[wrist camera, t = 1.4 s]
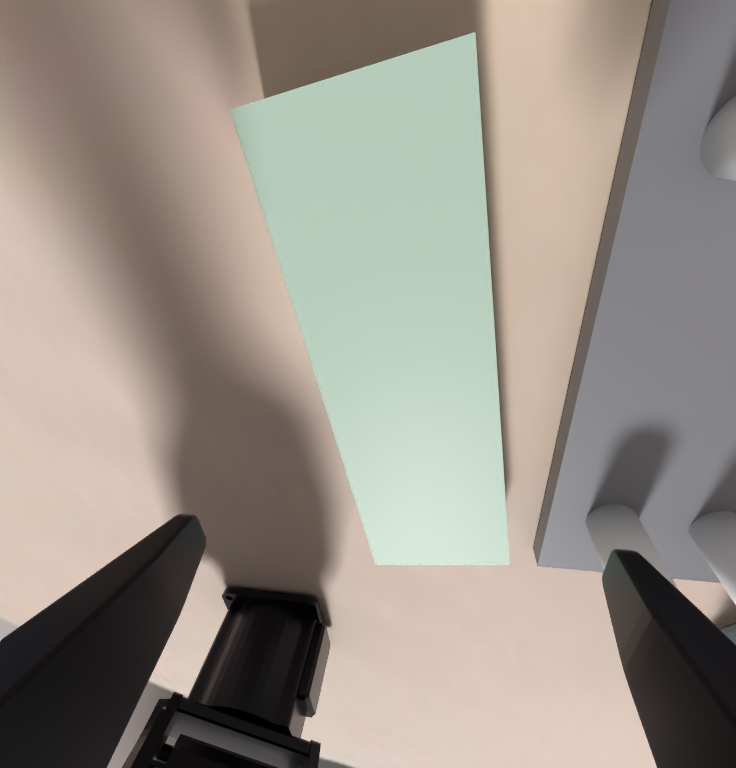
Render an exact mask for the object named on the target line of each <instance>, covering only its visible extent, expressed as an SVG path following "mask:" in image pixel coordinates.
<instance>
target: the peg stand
mask: <svg viewBox="0 0 736 768" xmlns="http://www.w3.org/2000/svg"><path fill="white" fill-rule="evenodd" d="M533 549H534V553H535V558H536V562H537V566H541V567H552V568H563V569H574V570H585V571H596V572H604V569H605V566H606V564H607V561H608V558H609V556H610V553H611V551H612V550H614V549H624V550H633V551H636V552H638V553H640V554H641V555H642V556H643V557H644V558H645V559H646V560H647V561H648V562H649V563H650V564H651V565H653V566H654V567H655V568H656V569H657V570H658V571H659V572H660V573H661V574H662V575H663V576H664V577H665V578H666V579H667V580H668V581H669V582H670V583H671V584H673V585H674V586H675V587H676V585H675V583H674V581H673V579H684V580H695V581H706V582H717V583H721V584H722V585H723V587H724V588H725V590H726V591H727V593H728V594H729V596H730V597H731V599H732V600H733V602H734V603H735V605H736V0H653V2H652V6H651V11H650V15H649V20H648V25H647V29H646V34H645V38H644V43H643V48H642V52H641V57H640V61H639V66H638V71H637V75H636V80H635V84H634V89H633V93H632V98H631V103H630V107H629V112H628V116H627V121H626V126H625V130H624V135H623V139H622V144H621V148H620V153H619V158H618V162H617V167H616V171H615V176H614V181H613V185H612V190H611V194H610V199H609V203H608V208H607V213H606V217H605V222H604V226H603V231H602V236H601V240H600V245H599V249H598V254H597V258H596V263H595V268H594V272H593V277H592V281H591V286H590V291H589V295H588V300H587V304H586V309H585V314H584V318H583V323H582V327H581V332H580V336H579V341H578V346H577V350H576V355H575V359H574V364H573V369H572V373H571V378H570V382H569V387H568V391H567V396H566V401H565V405H564V410H563V414H562V419H561V424H560V428H559V433H558V437H557V442H556V446H555V451H554V456H553V460H552V465H551V469H550V474H549V479H548V483H547V488H546V492H545V497H544V501H543V506H542V511H541V515H540V520H539V524H538V529H537V534H536V538H535V543H534V547H533ZM672 578H673V579H672ZM676 588H677V587H676ZM677 589H678V588H677Z"/></svg>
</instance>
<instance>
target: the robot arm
mask: <svg viewBox="0 0 736 768" xmlns="http://www.w3.org/2000/svg"><path fill="white" fill-rule="evenodd" d="M205 546H206V537H205V534H204V532H203V529H202V527H201V525H200V522H199V520H198V518H197V517H196V516H195V515H187V514H179V515H177V516H175V517H173V518H172V519H170V520H169V521H168V522H166V523H165V524H163V525H162V526H161V527H159V528H158V529H156V530H155V531H154V532H152V533H151V534H149V535H148V536H147V537H145V538H144V539H142V540H141V541H139V542H138V543H137V544H135V545H134V546H132V547H131V548H130V549H128V550H127V551H125V552H124V553H123V554H121V555H120V556H118V557H117V558H116V559H114V560H113V561H111V562H110V563H109V564H107V565H106V566H104V567H103V568H102V569H100V570H99V571H97V572H96V573H94V574H93V575H92V576H90V577H89V578H87V579H86V580H85V581H83V582H82V583H80V584H79V585H78V586H76V587H75V588H73V589H72V590H71V591H69V592H68V593H66V594H65V595H64V596H62V597H61V598H59V599H58V600H57V601H55V602H54V603H52V604H51V605H50V606H48V607H47V608H45V609H44V610H42V611H41V612H40V613H38V614H37V615H35V616H34V617H33V618H31V619H30V620H28V621H27V622H26V623H24V624H23V625H21V626H20V627H19V628H17V629H16V630H14V631H13V632H12V633H10V634H9V635H7V636H6V637H4V638H3V639H2V640H1V641H0V768H107V766H108V764H109V762H110V760H111V758H112V755H113V753H114V751H115V749H116V747H117V745H118V743H119V741H120V739H121V736H122V735H123V733H124V730H125V728H126V726H127V724H128V722H129V720H130V718H131V716H132V714H133V712H134V710H135V708H136V705H137V703H138V701H139V699H140V697H141V695H142V693H143V691H144V689H145V686H146V685H147V683H148V681H149V678H150V676H151V674H152V672H153V670H154V668H155V666H156V664H157V662H158V660H159V658H160V656H161V654H162V651H163V649H164V647H165V645H166V643H167V641H168V639H169V637H170V635H171V633H172V631H173V629H174V626H175V624H176V622H177V620H178V618H179V616H180V613H181V611H182V608H183V606H184V603H185V601H186V598H187V595H188V593H189V590H190V587H191V585H192V582H193V579H194V577H195V574H196V571H197V569H198V566H199V563H200V561H201V558H202V555H203V553H204V550H205ZM602 582H603V588H604V592H605V597H606V601H607V605H608V609H609V613H610V617H611V621H612V626H613V630H614V634H615V638H616V642H617V646H618V651H619V655H620V659H621V662H622V666H623V670H624V673H625V676H626V679H627V682H628V686H629V688H630V691H631V694H632V697H633V700H634V703H635V706H636V708H637V711H638V714H639V717H640V720H641V723H642V726H643V728H644V731H645V734H646V737H647V740H648V743H649V746H650V748H651V751H652V754H653V757H654V760H655V763H656V766H657V768H736V644H735V643H734V642H733V641H732V640H730V639H729V638H728V637H727V636H726V635H725V634H724V633H723V632H722V631H721V630H720V629H719V628H718V627H717V626H716V625H715V624H714V623H713V622H712V621H710V620H709V619H708V618H707V617H706V616H705V615H704V614H703V613H702V612H701V611H700V610H699V609H698V608H697V607H696V606H695V605H694V604H693V603H692V602H690V601H689V600H688V599H687V598H686V597H685V596H684V595H683V594H682V593H681V592H680V591H679V590H678V589H677V588H676V587H675V586H674V585H673V584H671V583H670V582H669V581H668V580H667V579H666V578H665V577H664V576H663V575H662V574H661V573H660V572H659V571H658V570H657V569H656V568H655V567H654V566H653V565H651V564H650V563H649V562H648V561H647V560H646V559H645V558H644V557H643V556H642V555H641V554H640V553H638V552H636V551H633V550H624V549H614V550H612V551H611V553H610V556H609V558H608V561H607V564H606V566H605V569H604V572H603V576H602ZM222 598H223V600H224V602H225V604H226V607H227V609H228V612H227V614H226V616H225V618H224V620H223V622H222V625H221V627H220V629H219V631H218V633H217V635H216V638H215V640H214V642H213V644H212V646H211V649H210V651H209V653H208V655H207V657H206V659H205V662H204V664H203V666H202V668H201V670H200V672H199V675H198V677H197V679H196V681H195V683H194V685H193V688H192V690H191V692H190V694H189V696H188V698H184V697H183V695H182V694H179V693H177V692H174V693H173V695H172V697H171V699H159V701H158V703H157V705H156V706H155V708H154V710H153V712H152V714H151V716H150V718H149V720H148V722H147V724H146V726H145V728H144V730H143V732H142V734H141V735H140V737H139V739H138V741H137V743H136V744H135V746H134V748H133V750H132V751H131V753H130V755H129V756H128V758H127V760H126V762H125V763H124V765H123V767H122V768H318V761H319V753H320V745H321V744H320V743H318V742H315V741H313V740H311V741H310V742H309V741H306V740H303V739H301V734H302V730H303V725H304V721H305V717H312V716H313V715H314V714H315V713H316V709H317V704H318V700H319V695H320V691H321V686H322V681H323V677H324V672H325V668H326V663H327V659H328V654H329V650H330V641H329V637H328V633H327V628H326V626H325V624H324V623H323V621H322V617H321V612H320V608H319V604H318V601H317V600H316V599H314V598H312V597H306V596H297V595H289V594H280V593H271V592H262V591H254V590H245V589H236V588H226V589H225V591H224V593H223V595H222ZM169 736H171V737H174V738H177V741H176V743H175V745H174V746H172V745H169V744H166V741H167V739H168V737H169Z"/></svg>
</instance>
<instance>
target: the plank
mask: <svg viewBox="0 0 736 768" xmlns="http://www.w3.org/2000/svg"><path fill="white" fill-rule="evenodd" d="M230 112H231V115H232V118H233V121H234V124H235V128H236V131H237V134H238V137H239V140H240V143H241V146H242V149H243V153H244V156H245V159H246V162H247V165H248V168H249V171H250V174H251V178H252V181H253V184H254V187H255V190H256V193H257V196H258V199H259V203H260V206H261V209H262V212H263V215H264V218H265V221H266V224H267V227H268V231H269V234H270V237H271V240H272V243H273V246H274V249H275V252H276V256H277V259H278V262H279V265H280V268H281V271H282V274H283V277H284V281H285V284H286V287H287V290H288V293H289V296H290V299H291V302H292V305H293V309H294V312H295V315H296V318H297V321H298V324H299V327H300V330H301V334H302V337H303V340H304V343H305V346H306V349H307V352H308V355H309V359H310V362H311V365H312V368H313V371H314V374H315V377H316V380H317V383H318V387H319V390H320V393H321V396H322V399H323V402H324V405H325V408H326V412H327V415H328V418H329V421H330V424H331V427H332V430H333V433H334V437H335V440H336V443H337V446H338V449H339V452H340V455H341V458H342V462H343V465H344V468H345V471H346V474H347V477H348V480H349V483H350V486H351V490H352V493H353V496H354V499H355V502H356V505H357V508H358V511H359V515H360V518H361V521H362V524H363V527H364V530H365V533H366V536H367V540H368V543H369V546H370V549H371V552H372V555H373V558H374V561H375V564H376V565H510V560H509V544H508V529H507V514H506V498H505V483H504V467H503V452H502V436H501V421H500V405H499V390H498V374H497V359H496V343H495V328H494V312H493V297H492V281H491V266H490V250H489V235H488V219H487V204H486V188H485V173H484V157H483V142H482V126H481V111H480V95H479V80H478V64H477V49H476V33H475V32H473V33H470V34H467V35H464V36H461V37H458V38H454V39H451V40H448V41H445V42H442V43H439V44H435V45H432V46H429V47H426V48H423V49H420V50H416V51H413V52H410V53H407V54H404V55H401V56H398V57H394V58H391V59H388V60H385V61H382V62H379V63H375V64H372V65H369V66H366V67H363V68H360V69H356V70H353V71H350V72H347V73H344V74H341V75H337V76H334V77H331V78H328V79H325V80H322V81H318V82H315V83H312V84H309V85H306V86H303V87H299V88H296V89H293V90H290V91H287V92H284V93H281V94H277V95H274V96H271V97H268V98H265V99H262V100H258V101H255V102H252V103H249V104H246V105H243V106H239V107H236V108H233V109H230Z"/></svg>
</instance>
